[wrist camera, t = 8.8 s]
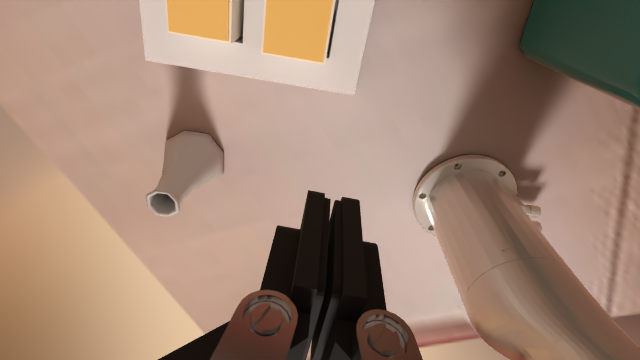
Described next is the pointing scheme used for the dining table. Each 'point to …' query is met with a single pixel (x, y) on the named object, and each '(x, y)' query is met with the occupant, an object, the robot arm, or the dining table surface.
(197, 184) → the flask
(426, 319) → the dining table surface
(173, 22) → the button
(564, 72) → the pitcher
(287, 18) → the button
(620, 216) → the dining table surface
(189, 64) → the button board
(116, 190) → the dining table surface
